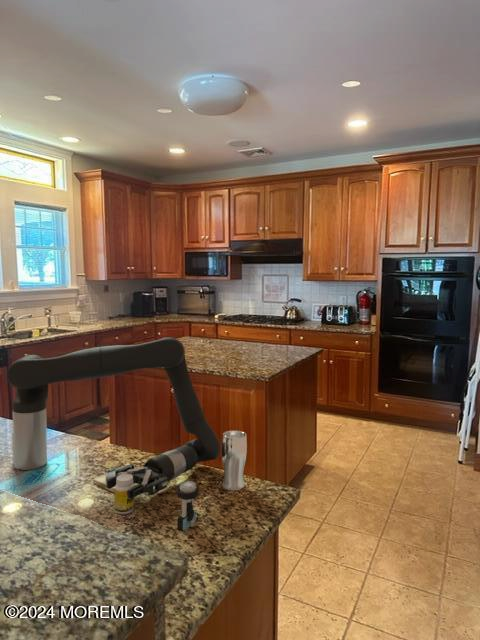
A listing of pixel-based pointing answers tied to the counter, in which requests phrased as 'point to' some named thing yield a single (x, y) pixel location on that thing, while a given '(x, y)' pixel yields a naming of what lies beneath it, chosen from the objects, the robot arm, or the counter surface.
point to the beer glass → (234, 459)
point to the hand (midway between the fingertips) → (117, 489)
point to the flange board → (103, 479)
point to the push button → (187, 504)
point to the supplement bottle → (123, 494)
